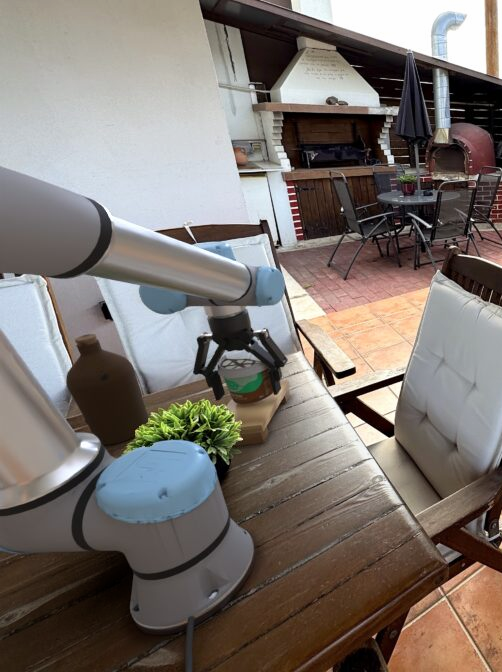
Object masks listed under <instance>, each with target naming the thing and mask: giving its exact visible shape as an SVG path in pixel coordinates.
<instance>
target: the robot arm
mask: <svg viewBox="0 0 502 672" xmlns="http://www.w3.org/2000/svg"><path fill="white" fill-rule="evenodd" d="M0 274H15V275H33V276H40V277H45V278H51V279H57V280H67V279H68V280H69V279H74V278H78V277H81V276H84V275H85V276H90V277H96V278H100V279H105V280H111V281H114V282H120V283H121V282H122V283H126V284H131V285H137V286H138V295H139V297H140V300H141V302H142V303H143V305H144V306H145V307H146V308H147V309H148V310H150V311H152V312H153V313H156V314H159V315H165V316H166V315H172V314H175V313H177V312H178V313H179V312H182V311H183V310H185V309H186V308H189V307H203V310H204V314H205V316H207V318H206V320H207V323H208V328H209V330H210V332H211V333H208V332H206V331H204V332H201V334H200V335H199V336H198V337H196V342H197V347H198V348H197V350H196V356H195V361H194V364H193V365H194V366H193V370H192V374H193V375H196V376H198V375H201V376H203V377H204V379H205V382H206V385H207V387H208V388H211V389H212V393H213V395H214V399H215V402H217V401H221V400H222V398H223V397H224V396H225V394H226V392H225V388H224V385H223V381H222V378H221V376H220V375H219V374H218V369H217V370H216V367H217V366H218V362H219V360H220V359H221V358H222V357H223V356H224V353H225V352H226V351H227V352H234V351H237V352H241V351H245V352H246V353H248V354H251V355H253V356H254V357H255V358H256V359H257V360H258V361H261V362H263V363H264V364H265V365H266V366H268V367H269V368H270V370H269V371H268V373H269V377H270V381H271V385H272V389H273V393H274V395H277V394H278V393H279V391H280V390H281V385H280V381H282V378H283V373H282V369H281V368H285V366H286V365H287V363H288V361H289V360H288V358H287V356H286V354H285V353H284V352H283V351H282V350H281V349H280V347H279V345H277V343H276V342H275V340H274V339H273V338H272V337H271V335H270V331H269V328H267V327H264V328H262V329H259V330H254V328H252V322H251V319H250V318H251V317H250V314H249V310H248V308H247V307H259V308H261V307H267V306H269V307H271V306H275V305H277V304H278V303H280V302H281V301H282V299H283V298H284V295H285V288H286V281H285V277H284V275H283V273H282V272H281V271H280V269H278V268H276V267H274V266H265V265H259V266H253V265H248V264H245V263H243V262H239V261H237V259H236V257H235V254H234V251H233V249H232V246H231V245H230V244H229V243H227V242H225V241H206V242H201V243H195V244H190V243H187V242H184V241H181V240H179V239H176V238H173V237H170V236H167V235H165V234H163V233H160V232H157V231H154V230H151V229H148V228H146V227H143V226H140V225H137V224H135V223H131V222H129V221H127V220H125V219H121V218H118V217H116V216H113V215H111V213H110V211H109V210H108V209H107V207H105V206H104V205H103V204H102V203H100V202H99V201H97V200H94V199H92V198H90V197H87V196H84V195H81V194H79V193H76V192H74V191H71V190H69V189H67V188H64V187H61V186H58V185H55V184H53V183H50V182H47V181H45V180H42V179H39V178H37V177H34V176H32V175H28V174H25V173H22V172H19V171H16V170H13V169H10V168H7V167H3V166H0ZM254 338H256V339H254ZM212 341H213V343H214V344H216V345H218V346H217V347H216V349H215V351H214V354H213V355H212V357H211V359H210V360H209V362H208V364H207V365H206V363H207V359H208V355H209V350H210V346H211V345H210V344H211V342H212ZM258 341H260V344H261V345H262V346H263V347H262V346H261V345H260V344H259V342H258ZM152 444H153V445H152V446H150V447H145V446H142V445H141V446H142V447H140V446H139V447H137V448H134V449H132V450H130V451H128V452H127V453H125V454H123V455H121V456H119V457H114V456H112V455H111V454H110V453H109V452H108V450H107V449H106V447H105V445H103V444H102V443H101V441H100V440H99V439H98V437H96V436H95V435H93V433H90V432H75V430H74V429H73V427H72V426H71V425H70V423H69V422H68V421H67V419H66V418H65V416H64V415H63V413H62V412H61V411H60V409H59V407H58V406H57V405H56V403H55V402H54V401H53V399H52V398H51V396H50V395H49V394H48V393H47V391H46V390H45V388H44V387H43V386H42V384H41V383H40V381H39V379H37V377H36V376H35V374H34V373H33V371H32V370H31V369H30V367H29V366H28V364H27V363H26V361H25V360H24V359H23V357H22V356H21V354H20V352H18V350H17V349H16V347H15V346H14V344H13V343H12V342H11V340H10V339H9V337H8V336H7V335H6V333H5V331H4V330H2V328H1V327H0V552H5V553H9V554H19V555H28V554H29V555H30V554H40V553H73V552H74V553H75V552H76V553H77V552H120V553H122V554H123V555H124V556H125V558H126V561H127V563H128V564H129V567H130V569H131V571H132V573H133V577H132V584H131V585H132V586H131V594H130V603H129V610H130V614H131V617H132V619H133V622H134V623H135V625H136V626H137V628H138V629H139V630H140V631H142V632H143V633H144V634H147V635H150V636H151V635H152V636H167V635H172V634H176V633H180V632H183V631H185V630H186V636H185V650H184V654H185V655H184V658H185V659H184V661H185V663H184V664H185V665H184V666H185V668H184V672H193V670H194V669H193V667H194V666H193V664H194V663H193V662H194V661H193V660H194V659H193V643H194V629H195V626H197V625H199V624H200V623H202V622H204V621H205V620H208V619H209V618H210V617H211V616H213V615H214V614H216V613H217V612H219V611H220V610H221V609H222V608H223V607H225V606H226V605H227V604H228V603H229V602H231V600H232V599H233V598H235V596H236V595H237V594H238V593H239V592H240V590H241V589H242V588H243V586H244V585H245V584H246V583H247V581H248V579H249V577H250V575H252V574H251V573H252V571H253V569H254V566H255V563H256V558H257V551H256V546H255V543H254V540H253V538H252V536H251V534H250V533H249V532H248V531H247V530H246V529H244V528H242V527H241V526H239V525H238V524H237V523H236V522H235V521H234V519H232V518H231V516H230V514H229V510H228V507H227V503H226V501H225V497H224V493H223V490H222V487H221V484H220V480H219V477H218V473H217V469H216V466H215V464H214V463H213V461H212V460H211V458H210V456H209V454H208V452H207V451H206V449H205V448H203V447H202V446H201V445H199V444H197V443H195V442H193V441H188V440H183V439H169V440H160V441H155V442H153V443H152Z"/></svg>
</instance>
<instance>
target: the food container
mask: <svg viewBox="0 0 502 672" xmlns="http://www.w3.org/2000/svg"><path fill="white" fill-rule="evenodd" d="M217 370H218V374H219V375H220V377H222V378H223V380H224V382H225V385H226V387H227V390H228V392H229V395H230V397H231V400H232V399H233V401H234V402H235V403H238V404H250V403H254V402H258V401H260V400H263V399H265V398H267V397H269V396H270V395H271V394H273V389H272V385H271V381H270V377H269V373H268V371H269V370H270V368H269V367H268V366H266V365H265V364H264V363H263V362H261V361H260V360H255V359H251V358H228V357H227V355H226V354H225V355H224V354H223V355H222V357H221V359H220V360H219V362H218V364H217Z"/></svg>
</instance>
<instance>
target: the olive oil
mask: <svg viewBox="0 0 502 672" xmlns="http://www.w3.org/2000/svg"><path fill="white" fill-rule="evenodd" d="M74 341H75V343H76V345H75V346H76V349H77V350H78V352H79V357H78V358H77V359H76V361H75V362H74V363H73V364H72V366H71V367H70V369H68V372H67V373H66V378H65V383H66V388H67V389H68V391H69V393H70V395H71V396H72V398H73V400H74V402H75V404H76V406H77V407H78V409H79V410H80V413H81V415H82V417H83V418H84V421H85V423H86V424H87V425H88V428H89V429H90V431H91V434H93V435H95V436H96V437H98V439H99V440H100V441H101V443H102V444H103V446H110V445H115V444H121V443H123V442H126V441H128V440H131V439H133V438H135V437H136V436H135V430H136V429H137V428H139V426H141V425H142V424H146V423H147V422H148V418H149V419H150V417H149V413H148V411H147V407H146V404H145V402H144V398H143V395H142V392H141V388H140V385H139V382H138V379H137V375H136V371H135V368H134V366H133V364H132V363H131V362H130V361H129V359H128V358H126V357H125V356H123V355H121V354H117V353H115V352H111V351H108V350H105V349H103V348H102V346H101V343H100V340H99V339H97V335H96V334H95V333H89V334H83V335H81V336H78V337H76V338H75V339H74Z"/></svg>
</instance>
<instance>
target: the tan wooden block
mask: <svg viewBox="0 0 502 672" xmlns="http://www.w3.org/2000/svg"><path fill="white" fill-rule="evenodd" d="M280 385H281V390H280V391H279V393H278V394H277V395H274V393H273V394H271V395H270V396H269V397H267V398H265V399H263V400H260V401H258V402H254V403H250V404H238V403H235V402H234V401H233V399H232V398H231V399H230V400H229V402H228V403H227V404H226V405H225V407H227V409H228V410H229V411H231V412H233V413H235V420H236V421H238V420H241V421H242V426H241V431H240V435H241V437H242V438H243V440H242V441H238V442H236V444H235V445H234V446H233V447H239V446H247V445H256V444H264V443H265V442H266V440H267V438H268V436H269V434H270V433H269V429H268V425H269V423H270V421H271V419H272V418H273V416H274V415H275V413H276V411H277V409H278V408H279V406H280V404H286V403H288V401H289V399H290V397H291V393H290V387H291V385H290V380H288V379H287V380H286V379H285V380H280Z"/></svg>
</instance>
